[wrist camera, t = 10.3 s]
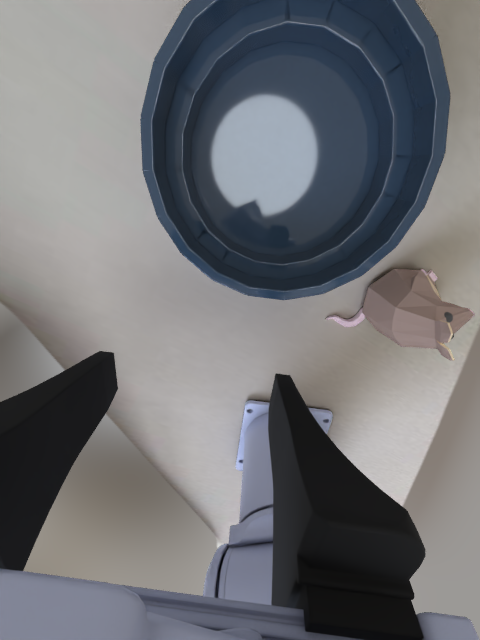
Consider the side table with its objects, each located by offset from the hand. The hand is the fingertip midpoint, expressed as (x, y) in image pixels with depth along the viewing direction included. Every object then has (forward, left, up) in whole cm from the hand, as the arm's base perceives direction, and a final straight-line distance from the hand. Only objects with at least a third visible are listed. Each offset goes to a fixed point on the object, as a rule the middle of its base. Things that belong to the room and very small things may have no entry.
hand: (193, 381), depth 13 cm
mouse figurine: (+1, -12, -11) cm, 16 cm away
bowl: (+9, -3, -10) cm, 14 cm away
